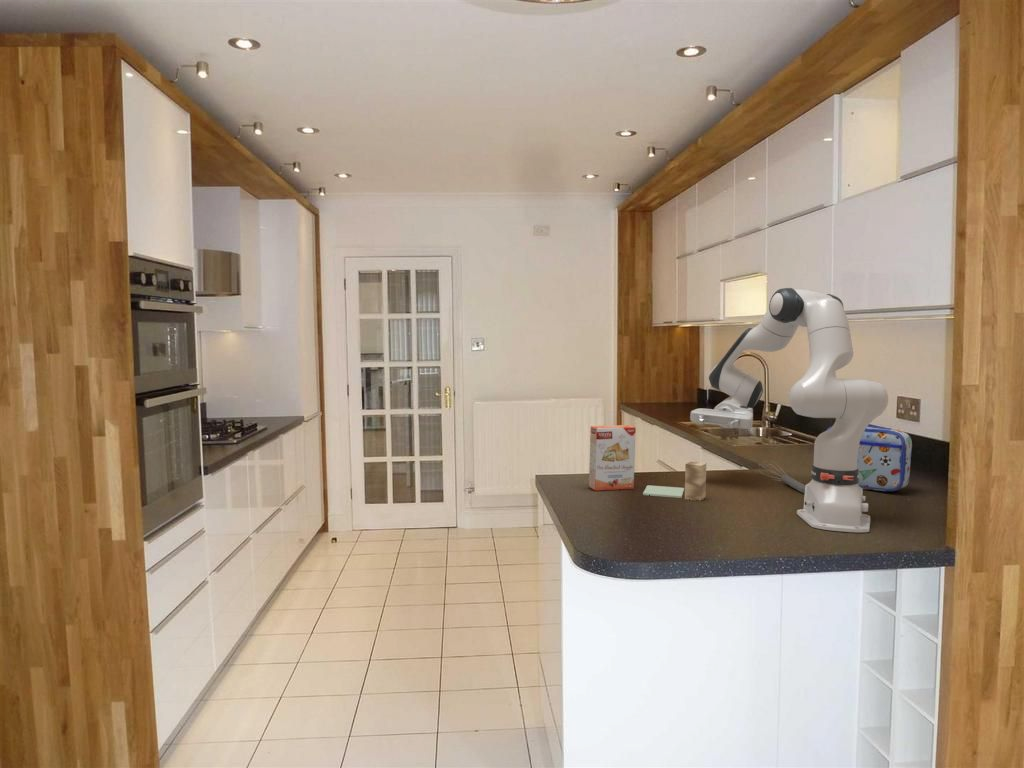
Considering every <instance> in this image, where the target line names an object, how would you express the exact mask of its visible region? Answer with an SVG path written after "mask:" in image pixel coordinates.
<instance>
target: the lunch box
mask: <svg viewBox="0 0 1024 768" xmlns="http://www.w3.org/2000/svg"><path fill="white" fill-rule="evenodd" d="M832 426H833V425H831V426H829V427H828V428H827V429H826V430H825V431H827V430H829V429H830V428H831V427H832ZM912 448H913V442H912V438H911V436H910V435H909V434H908V433H906V432H904V431H901V430H898V429H892V428H889V427H888V428H886V427H882V426H877V425H876V426H875V425H868V426H867V428H866V429H865V431H864V433H863V435H862V437H861V440H860V443H859V450H858V460H857V469H858V470H859V483H858V485H859V486H860V487H861V488H862V489H863V490H867V491H870V490H871V491H878V492H879V491H881V492H896V491H898V490H901V489H904V488H906V487H907V486H908V484H909V481H910V474H911V473H910V472H911V459H912Z"/></svg>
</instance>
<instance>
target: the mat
mask: <svg viewBox="0 0 1024 768" xmlns="http://www.w3.org/2000/svg"><path fill="white" fill-rule="evenodd" d="M684 493H685V487H678V486H676V487H675V486H665V485H664V486H663V485H662V486H661V485H646V487H645V489H644V491H643V492H642V496H649V495H650V496H653V497H662V498H663V497H666V498H675V499H676V498H677V499H682V498H683V495H684Z"/></svg>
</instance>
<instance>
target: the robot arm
mask: <svg viewBox="0 0 1024 768" xmlns="http://www.w3.org/2000/svg"><path fill="white" fill-rule="evenodd" d="M799 326H801V327H803V328H804V327H805V328H807V339H808V346H809V347H808V348H809V364H808V367H807V370H806V372H805V373H804V375H803V376H802V377H801V378H800V379H799V380H797V381H796V382H795V383H794V384H793V385H792V387H791V388H790V391H789V395H788V402H789V405H790V407H791V409H792V410H793V412H794V413H795V414H796V415H799V416H802V417H808V418H812V419H813V418H814V419H835V422H834V423H833V425H831V426H832V427H831V426H830V427H831V428H830V429H829V430H827V429H826V430H827V431H826V430H825V431H823V432H821V433H820V434H818V436H817V437H816V438H815V440H814V446H813V465H811V470H810V473H811V474H810V477H811V480H810V481H809V482H808V483H807V484H805V485H806V486H805V494H804V497H803V499H804V500H803V508H802V509H801V508H800V509H797V510H796V515H798V516H799V517H800V518H801V519H802V520H803V521H804V522H806V523H807V524H808V525H809V526H810V527H812V528H814V529H818V530H824V531H825V530H826V531H833V532H842V533H843V532H845V533H869V532H870V527H871V516H870V515H869V514H866V512H869V503H868V502H866V497H867V496H866V495H863V492H864V491H863V490H864V489H862V488H861V487H860V486H859V485H858V483H859V470H858V469H857V460H858V450H859V443H860V440H861V437H862V435H863V433H864V431H865V429H866V428H867V426H870V424H871V423H872V422H873V421H874V420H875V419H876V418H878V417H879V416H881V415H882V414H883V413H884V412H885V411H886V409H887V406H888V404H889V394H888V390H887V389H886V388H885V386H884V385H883V384H882V383H881V382H878V381H873V380H869V379H864V378H863V379H862V378H838V377H837V375H836V371H838V370H840V369H843V368H845V367H846V366H847V365H848V364H850V363H851V361H852V360H853V357H854V349H853V343H852V336H851V329H850V325H849V320H848V317H847V314H846V311H845V308H844V303H843V301H842V299H840V298H839V297H838V296H836V295H834V294H830V293H823V292H819V291H814V290H811V289H803V288H802V289H801V288H792V287H785V288H779V289H777V290H776V291H775V292H774V293H773V294H772V296H771V298H770V300H769V304H768V309H767V310H766V312H765V313H764V315H763V317H762V318H761V321H760V322H759V323H758V324H757V325H756V326H755V327H748V328H747V329H745V330H744V331H743V332H742V333H741V334H740V335H739V337H738V338H737V339H736V340H735V342H734V343H733V345H731V347H730V348H729V349H728V350H727V352H726V353H725V354H724V356H723V357H722V358H721V360H720V361H719V362H718V363H717V364H716V365H715V366H714V367H713V368H712V369H711V371H710V373H709V375H708V381H709V384H710V386H711V387H712V388H713V389H715V390H718V391H720V392H722V393H724V394H726V395H728V396H729V397H727V398H725V399H724V400H722V401H721V402H720V403H718V404H717V405H716V406H715V407H714V408H713V409H712V408H695V409H692V410H691V411H690V414H689V415H690V416H689V420H690V422H692V423H698V424H699V425H705V424H706V425H713V426H719V427H721V428H725V429H733V428H738V429H745V430H748V429H749V430H750V429H752V428H753V423H754V422H753V421H754V408H755V406H756V405H757V404H758V403H759V401H760V400H761V398H762V395H763V392H764V388H763V383H762V381H761V380H759V379H758V378H757V377H754V376H753V375H750V374H748V373H747V372H746V371H743V370H741V369H739V368H738V367H736V365H734V364H735V362H736V361H737V359H738V358H739V357H740V356H741V354H742V353H743V352H744V351H747V350H751V351H753V350H754V351H761V352H767V353H768V352H769V353H773V352H777V351H781V350H783V349H784V348H786V347H787V346H788V345H789V343H790V342H791V340H792V339H793V337H794V335H795V333H796V331H797V329H798V327H799ZM863 512H864V513H863Z"/></svg>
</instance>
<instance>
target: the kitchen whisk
mask: <svg viewBox="0 0 1024 768" xmlns="http://www.w3.org/2000/svg"><path fill="white" fill-rule="evenodd" d="M770 462H773V463H774V464H772V463H770ZM766 463H768V464H767V466H772V467H773V468H775V469H776V467H778V468H779V469H780V470H781V471H782V472H781V471H780V470H778V472H777V471H776V470H771V469H770V468H769V467H766ZM758 466H761V467H759V468H758V472H759V473H760V474H762V476H763V475H765V476H767V477H771V478H772V476H771V475H770V474H769V473H768V472H767V471H769V472H771V473H773V474H775V475H779V477H781V478H779V477H777V479H776V477H775V476H773V479H774V478H775V481H776V482H778V481H779V482H781V481H782V482H783V483H784V484H786V485H788V486H789V487H791V488H793V489H795V490H796V491H799V493H802V494H803V495H805V486H806V485H807V484H804V483H802V482H800V481H798V480H797V479H794V478H793V477H791V476H789V474H788V475H787V474H786V472H785V471H784V470H783V469H782V468H781V466H779V464H778V463H776V464H775V461H773V460H772V459H771V460H765V461H764V463H763V464H760V463H759V464H758ZM760 469H761V470H763V469H764V471H765V472H766V474H765V473H763V472H762V471H760ZM769 475H770V476H769Z"/></svg>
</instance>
